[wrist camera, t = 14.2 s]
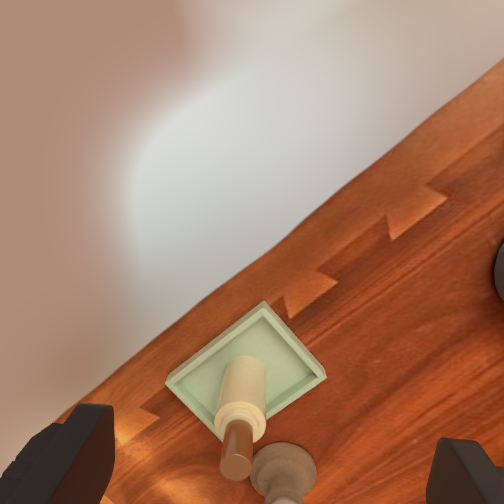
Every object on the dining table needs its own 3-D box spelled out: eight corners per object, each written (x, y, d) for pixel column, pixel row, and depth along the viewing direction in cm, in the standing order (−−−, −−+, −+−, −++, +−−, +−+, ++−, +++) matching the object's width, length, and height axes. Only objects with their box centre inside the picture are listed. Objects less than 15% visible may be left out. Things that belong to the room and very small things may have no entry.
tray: (263, 299, 45) (263, 306, 43) (324, 368, 47) (327, 378, 45) (168, 374, 48) (164, 383, 46) (229, 435, 50) (227, 447, 48)
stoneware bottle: (225, 353, 46) (207, 439, 32) (268, 357, 46) (268, 445, 32) (222, 390, 48) (203, 489, 34) (264, 394, 48) (262, 495, 34)
